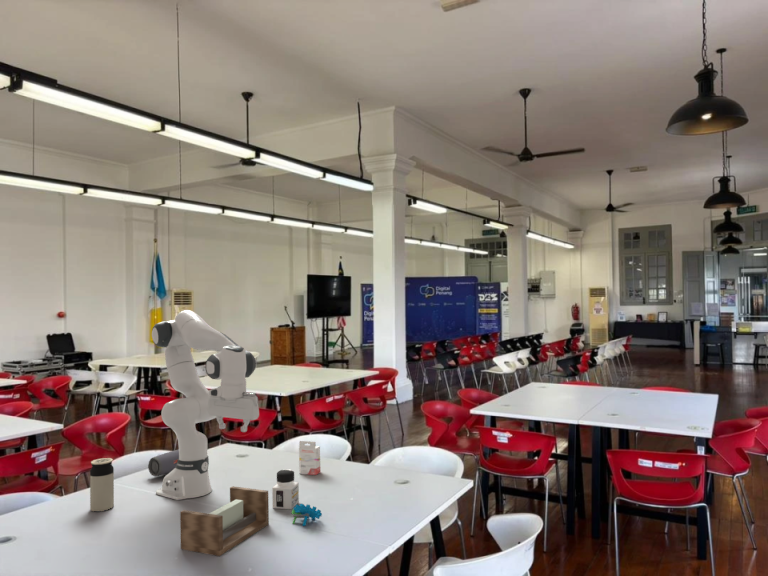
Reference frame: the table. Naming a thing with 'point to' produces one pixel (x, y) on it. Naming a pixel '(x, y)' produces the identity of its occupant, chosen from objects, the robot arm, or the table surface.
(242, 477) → the table surface
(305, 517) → the gear
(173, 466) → the bluetooth speaker
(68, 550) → the table surface
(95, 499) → the travel mug
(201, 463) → the robot arm
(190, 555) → the table surface
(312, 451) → the ink cartridge box
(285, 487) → the container
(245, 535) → the cabinet base
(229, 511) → the door panel
